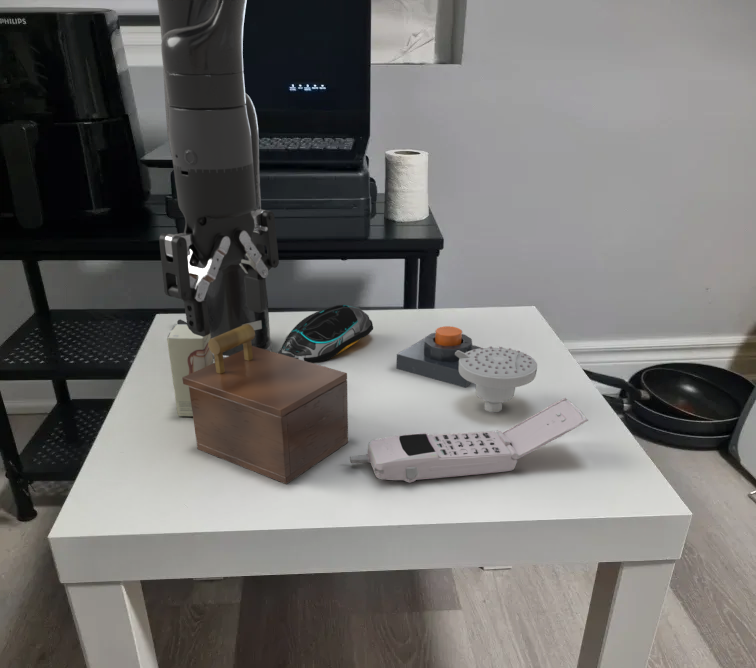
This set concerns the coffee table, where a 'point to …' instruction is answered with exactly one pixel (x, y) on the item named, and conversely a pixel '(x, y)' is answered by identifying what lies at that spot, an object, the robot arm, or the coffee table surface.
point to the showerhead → (496, 373)
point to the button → (448, 336)
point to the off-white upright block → (186, 362)
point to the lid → (261, 375)
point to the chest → (271, 432)
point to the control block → (435, 360)
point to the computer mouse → (327, 333)
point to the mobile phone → (468, 447)
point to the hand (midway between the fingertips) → (229, 322)
